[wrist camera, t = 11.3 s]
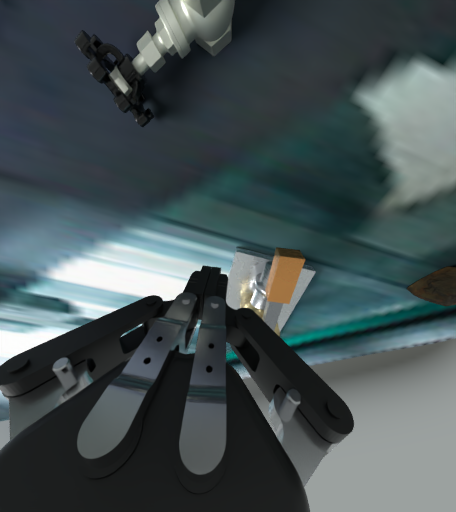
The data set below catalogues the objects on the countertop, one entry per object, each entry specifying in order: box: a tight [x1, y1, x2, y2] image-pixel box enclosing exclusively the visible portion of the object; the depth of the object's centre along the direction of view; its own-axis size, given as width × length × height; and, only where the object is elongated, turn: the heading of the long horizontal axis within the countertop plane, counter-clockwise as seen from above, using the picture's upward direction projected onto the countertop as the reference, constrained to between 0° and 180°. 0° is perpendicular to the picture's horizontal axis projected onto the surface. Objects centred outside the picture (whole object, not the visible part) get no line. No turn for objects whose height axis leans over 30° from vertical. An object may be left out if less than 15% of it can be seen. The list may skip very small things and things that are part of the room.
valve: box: [75, 0, 235, 127], centre depth 14 cm, size 7×7×12 cm
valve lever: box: [262, 247, 305, 331], centre depth 19 cm, size 15×2×2 cm, turn 174°
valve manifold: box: [226, 247, 316, 337], centre depth 27 cm, size 12×18×8 cm, turn 166°
